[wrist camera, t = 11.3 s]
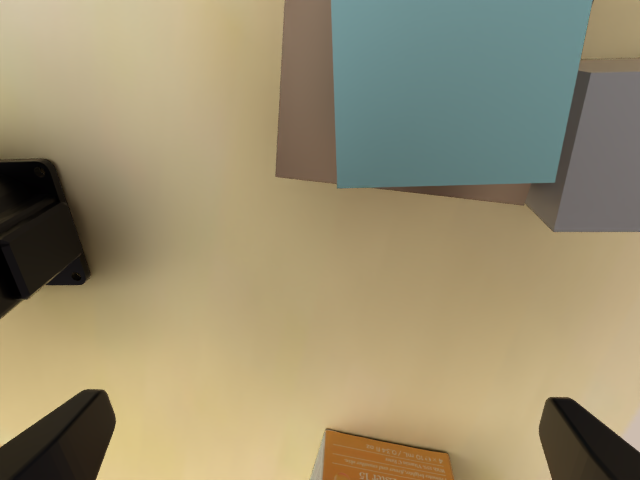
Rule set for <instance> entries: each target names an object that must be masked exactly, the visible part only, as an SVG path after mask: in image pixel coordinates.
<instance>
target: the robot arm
mask: <svg viewBox="0 0 640 480" xmlns="http://www.w3.org/2000/svg"><path fill="white" fill-rule="evenodd" d="M40 167H41V168H42V169H44V171H45V174H43V173H42V172H41V171H40ZM76 273H78V274H80V276H81V277H80V276H78V275H77V274H76ZM89 278H90V271H89V268H88V265H87V262H86V259H85V256H84V253H83V249H82V246H81V243H80V240H79V237H78V234H77V231H76V228H75V225H74V222H73V219H72V216H71V213H70V210H69V207H68V205H67V202H66V199H65V196H64V193H63V190H62V187H61V184H60V181H59V178H58V175H57V172H56V169H55V167H54V165H53V164H52V163H51V162H50V161H48V160H46V159H16V160H0V319H1V318H2V317H4V316H5V315H6V314H7V313H8V312H10V311H11V310H12V309H13V308H14V307H16V306H17V305H18V304H19V303H20V302H22V301H23V300H27V299H29V298H30V297H32V296H33V295H34V294H35V293H36V292H37V291H39V290H40V289H41V288H42V287H43V286H45V285H82V284H84V283H85V282H86V281H87V280H88V279H89ZM115 424H116V418H115V414H114V411H113V408H112V405H111V403H110V400H109V397H108V394H107V393H106V392H105V391H104V390H100V389H87V390H83V391H81V392H80V393H78V394H77V395H75V396H74V397H73V398H71V399H70V400H68V401H67V402H65V403H64V404H62V405H61V406H60V407H58V408H57V409H55V410H54V411H52V412H51V413H49V414H48V415H47V416H45V417H44V418H42V419H41V420H39V421H38V422H36V423H35V424H33V425H32V426H31V427H29V428H28V429H26V430H25V431H23V432H22V433H20V434H19V435H18V436H16V437H15V438H13V439H12V440H10V441H9V442H7V443H6V444H5V445H3V446H2V447H0V480H96V478H97V475H98V472H99V470H100V467H101V464H102V461H103V459H104V456H105V453H106V450H107V448H108V445H109V442H110V440H111V437H112V434H113V431H114V428H115ZM539 436H540V440H541V443H542V447H543V450H544V454H545V457H546V460H547V464H548V467H549V470H550V474H551V477H552V480H640V452H639V451H637V450H636V449H635V448H634V447H632V446H631V445H630V444H628V443H627V442H626V441H625V440H623V439H622V438H621V437H620V436H618V435H617V434H616V433H615V432H613V431H612V430H611V429H610V428H608V427H607V426H606V425H605V424H603V423H602V422H601V421H600V420H598V419H597V418H596V417H595V416H593V415H592V414H591V413H590V412H588V411H587V410H586V409H585V408H583V407H582V406H581V405H580V404H578V403H577V402H576V401H574V400H573V399H571V398H568V397H550V398H548V399H547V400H546V402H545V405H544V409H543V413H542V417H541V420H540V424H539Z"/></svg>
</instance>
